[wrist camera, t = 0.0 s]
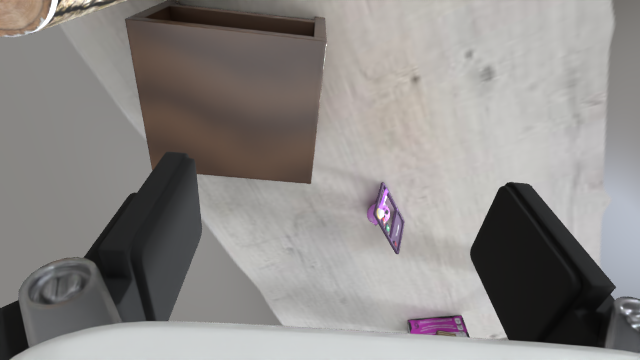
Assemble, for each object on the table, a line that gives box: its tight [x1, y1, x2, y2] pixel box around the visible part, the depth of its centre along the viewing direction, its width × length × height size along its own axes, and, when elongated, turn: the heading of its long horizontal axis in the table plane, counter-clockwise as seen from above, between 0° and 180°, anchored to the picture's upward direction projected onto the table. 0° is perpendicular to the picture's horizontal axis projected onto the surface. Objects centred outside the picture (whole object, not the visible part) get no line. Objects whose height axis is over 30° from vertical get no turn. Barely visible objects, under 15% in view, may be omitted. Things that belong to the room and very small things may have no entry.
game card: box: [367, 183, 404, 254], centre depth 56 cm, size 7×5×9 cm
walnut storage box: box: [125, 0, 327, 184], centre depth 42 cm, size 16×18×11 cm
